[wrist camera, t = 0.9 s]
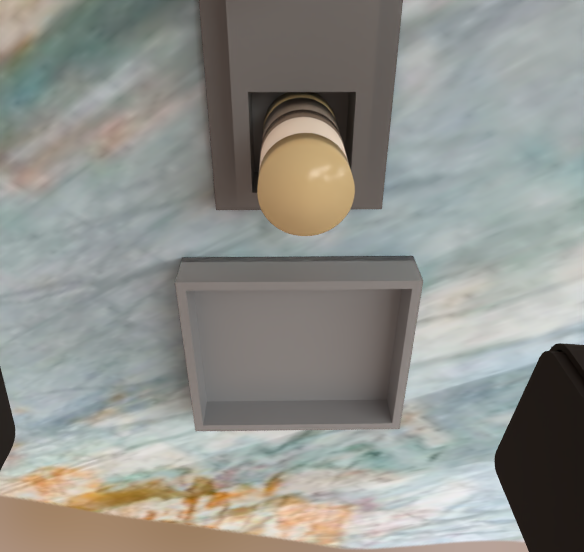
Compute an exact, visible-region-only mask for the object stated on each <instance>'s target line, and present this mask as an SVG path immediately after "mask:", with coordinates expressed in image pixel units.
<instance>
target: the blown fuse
mask: <svg viewBox="0 0 584 552" xmlns="http://www.w3.org/2000/svg"><path fill="white" fill-rule="evenodd" d="M257 195H258V201H259V205H260V208H261V210H262V212H263V214H264V215H265V217H266V218H267V219H268V220H269V221H270V222H271V223H272V224H273V225H274V226H275V227H277V228H278V229H280V230H282V231H284V232H286V233H289V234H293V235H298V236H312V235H318V234H321V233H324V232H326V231H329V230H330V229H332V228H334V227H335V226H336V225H338V224H339V223H340V222H341V221H342V220H343V219H344V218H345V217H346V215H347V214H348V212H349V210H350V208H351V206H352V204H353V200H354V195H355V185H354V179H353V176H352V173H351V169H350V166H349V163H348V159H347V156H346V152H345V148H344V144H343V141H342V137H341V135H340V132H339V129H338V125H337V122H336V119H335V115H334V112H333V110H332V108H331V107H330V105H329V104H328V102H327V101H326V100H325V99H324V98H322V97H321V96H320V95H318V94H316V93H314V92H287V93H285V94H283V95H281V96H279V97H278V98H277V99H276V100H275V101H274V102H273V103H272V104H271V105H270V107H269V108H268V110H267V113H266V115H265V119H264V127H263V137H262V144H261V153H260V167H259V177H258V188H257Z"/></svg>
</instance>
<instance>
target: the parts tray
mask: <svg viewBox="0 0 584 552" xmlns="http://www.w3.org/2000/svg"><path fill="white" fill-rule="evenodd" d="M422 285H423V279H422V277H421V274H420V272H419V269H418V267H417V264H416V262H415V260H414V257H413V256H343V257H195V258H182V261H181V264H180V268H179V271H178V274H177V277H176V280H175V287H176V295H177V302H178V309H179V316H180V323H181V330H182V337H183V345H184V352H185V359H186V366H187V373H188V380H189V387H190V395H191V402H192V409H193V416H194V423H195V430H196V431H256V430H344V429H400V423H401V416H402V410H403V404H404V398H405V391H406V385H407V379H408V373H409V366H410V360H411V354H412V348H413V341H414V335H415V329H416V323H417V316H418V310H419V304H420V298H421V291H422Z"/></svg>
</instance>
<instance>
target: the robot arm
mask: <svg viewBox="0 0 584 552" xmlns="http://www.w3.org/2000/svg"><path fill="white" fill-rule="evenodd" d="M14 439H15V425H14V421H13V416H12V412H11V408H10V404H9V400H8V396H7V392H6V388H5V384H4V380H3V376H2V372H1V368H0V470H1V468H2V466H3V464H4V462H5V460H6V458H7V456H8V455H9V453H10V451H11V448H12V446H13V443H14ZM495 469H496V473H497V475H498V478H499V480H500V483H501V485H502V488H503V490H504V492H505V495H506V497H507V500H508V502H509V504H510V507H511V509H512V512H513V514H514V517H515V519H516V521H517V524H518V526H519V529H520V531H521V533H522V536H523V538H524V541H525V543H526V546H527V548H528V550H529V552H584V345H575V344H561V343H560V344H555V345H554V346H553V347H551V349H550V350H549V351H545V352H544V353H542V355H541V356H540V358H539V360H538V362H537V364H536V367H535V369H534V371H533V373H532V375H531V377H530V379H529V382H528V384H527V386H526V388H525V390H524V392H523V395H522V397H521V399H520V401H519V403H518V405H517V408H516V410H515V412H514V414H513V416H512V418H511V421H510V423H509V425H508V427H507V429H506V431H505V433H504V436H503V438H502V440H501V442H500V444H499V446H498V449H497V451H496V454H495Z"/></svg>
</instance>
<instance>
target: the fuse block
mask: <svg viewBox="0 0 584 552" xmlns="http://www.w3.org/2000/svg"><path fill="white" fill-rule="evenodd" d="M402 3H403V0H199V8H200V20H201V33H202V45H203V57H204V69H205V81H206V93H207V105H208V117H209V129H210V141H211V153H212V166H213V178H214V190H215V202H216V210H261V208H260V205H259V201H258V195H257V188H258V177H259V167H260V153H261V144H262V137H263V127H264V119H265V115H266V113H267V110H268V108H269V107H270V105H271V104H272V103H273V102H274V101H275V100H276V99H277V98H278V97H279V96H281V95H283V94H285V93H287V92H314V93H316V94H318V95H320V96H321V97H322V98H324V99H325V100H326V101H327V102H328V104H329V105H330V107H331V108H332V110H333V112H334V115H335V119H336V122H337V125H338V129H339V132H340V135H341V137H342V141H343V144H344V148H345V152H346V156H347V159H348V163H349V166H350V169H351V173H352V176H353V179H354V185H355V195H354V200H353V204H352V206H351V208H350V209H382V201H383V191H384V181H385V171H386V161H387V151H388V141H389V132H390V122H391V112H392V102H393V92H394V82H395V72H396V62H397V52H398V43H399V33H400V23H401V13H402Z"/></svg>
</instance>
